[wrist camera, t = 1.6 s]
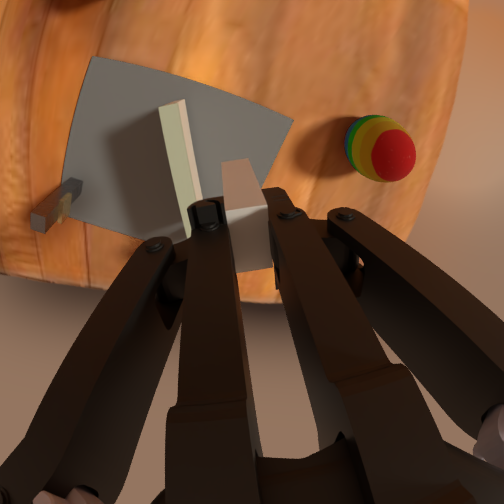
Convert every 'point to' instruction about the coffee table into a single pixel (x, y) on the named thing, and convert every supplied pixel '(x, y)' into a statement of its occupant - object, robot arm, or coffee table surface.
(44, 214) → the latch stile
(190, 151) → the gate
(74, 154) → the mat
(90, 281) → the coffee table surface
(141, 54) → the coffee table surface
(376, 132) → the decorative egg
